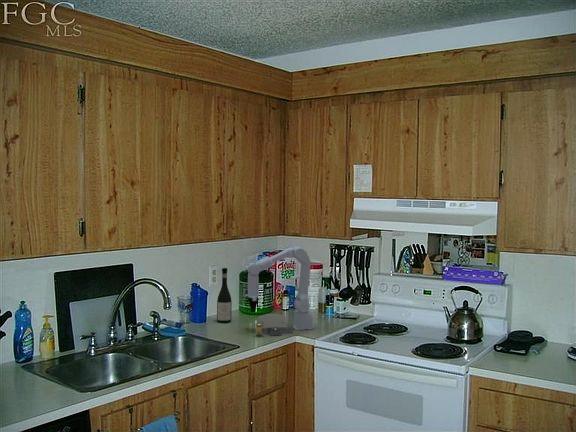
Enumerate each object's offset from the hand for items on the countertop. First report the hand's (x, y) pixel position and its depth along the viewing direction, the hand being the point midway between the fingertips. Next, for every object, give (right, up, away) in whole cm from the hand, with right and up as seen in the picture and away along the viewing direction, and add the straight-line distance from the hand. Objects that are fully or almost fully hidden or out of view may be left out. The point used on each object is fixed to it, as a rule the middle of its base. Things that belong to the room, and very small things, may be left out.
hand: (252, 311), depth 291 cm
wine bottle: (-17, -9, +19) cm, 27 cm away
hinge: (+10, -10, +1) cm, 14 cm away
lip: (+12, -10, -7) cm, 17 cm away
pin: (+4, -11, -10) cm, 15 cm away
